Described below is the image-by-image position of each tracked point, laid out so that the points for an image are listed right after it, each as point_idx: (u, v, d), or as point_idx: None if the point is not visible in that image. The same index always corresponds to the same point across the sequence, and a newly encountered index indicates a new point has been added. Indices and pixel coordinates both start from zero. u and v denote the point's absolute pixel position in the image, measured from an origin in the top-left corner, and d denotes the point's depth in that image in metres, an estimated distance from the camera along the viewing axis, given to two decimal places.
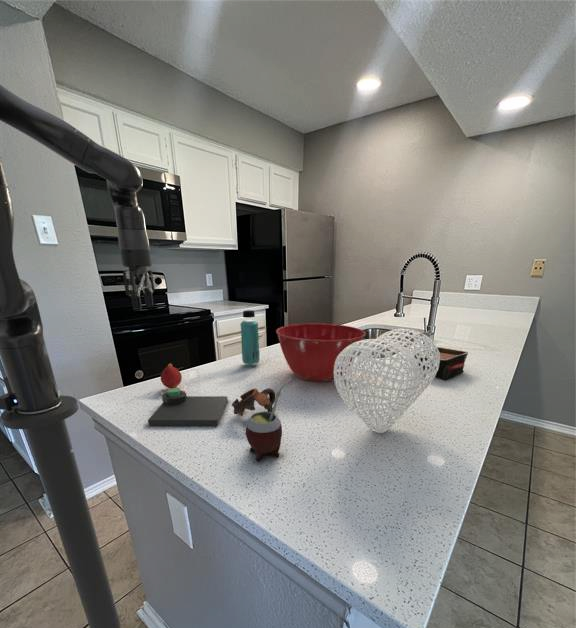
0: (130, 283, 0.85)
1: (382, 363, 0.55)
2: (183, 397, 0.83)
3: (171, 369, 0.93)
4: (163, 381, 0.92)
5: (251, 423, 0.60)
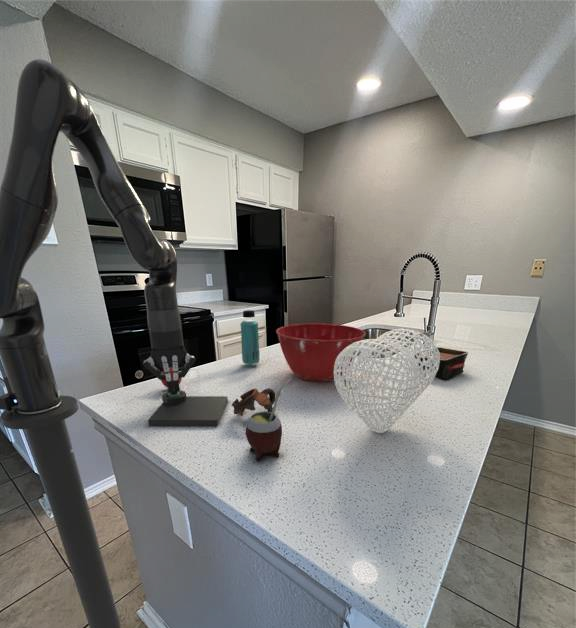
0: None
1: (382, 363, 0.55)
2: (183, 397, 0.83)
3: (171, 369, 0.93)
4: (163, 381, 0.92)
5: (251, 423, 0.60)
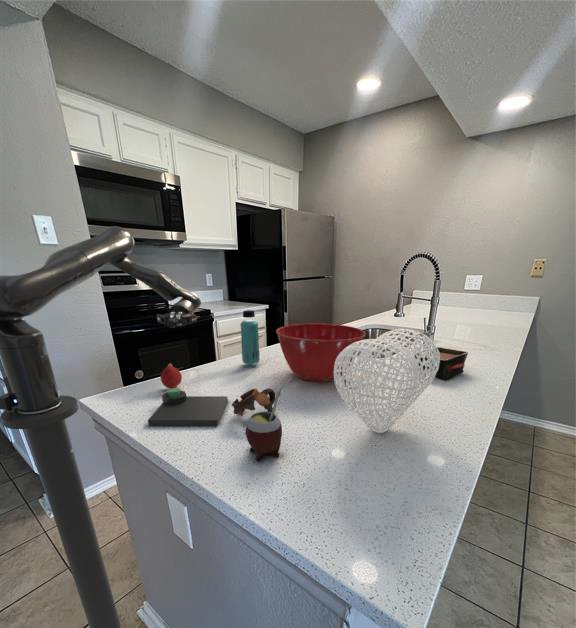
0: (160, 318, 1.03)
1: (382, 363, 0.55)
2: (183, 397, 0.83)
3: (171, 369, 0.93)
4: (163, 381, 0.92)
5: (251, 423, 0.60)
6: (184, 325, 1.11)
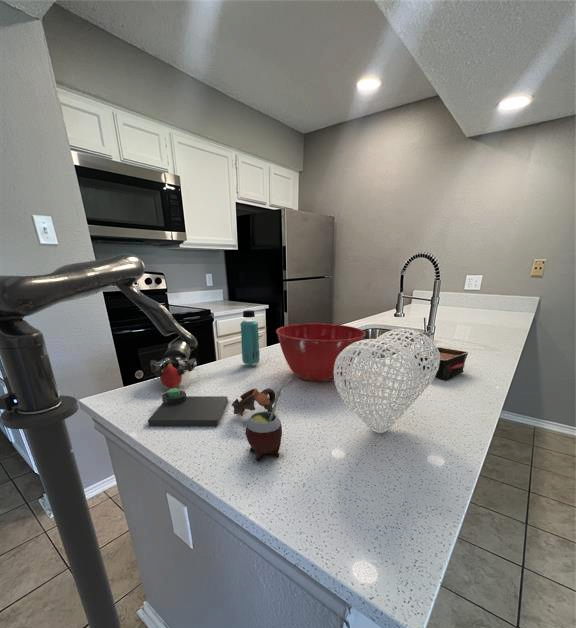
0: None
1: (382, 363, 0.55)
2: (183, 397, 0.83)
3: (171, 369, 0.93)
4: (163, 381, 0.92)
5: (251, 423, 0.60)
6: None
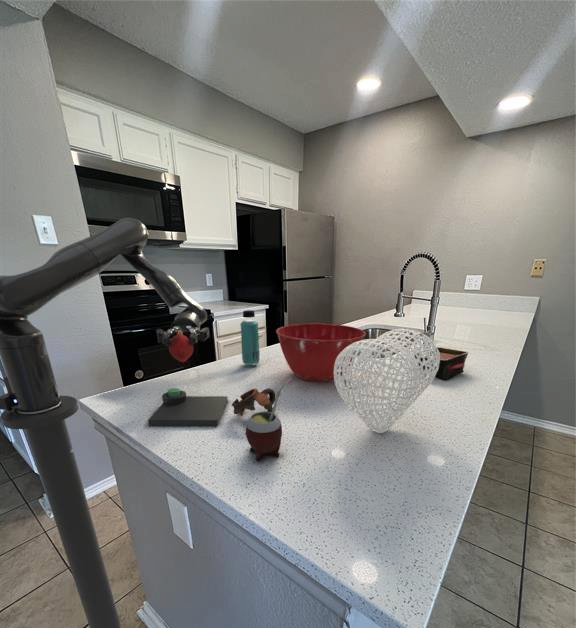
0: None
1: (382, 363, 0.55)
2: (183, 397, 0.83)
3: (182, 337, 0.79)
4: (172, 351, 0.79)
5: (251, 423, 0.60)
6: None
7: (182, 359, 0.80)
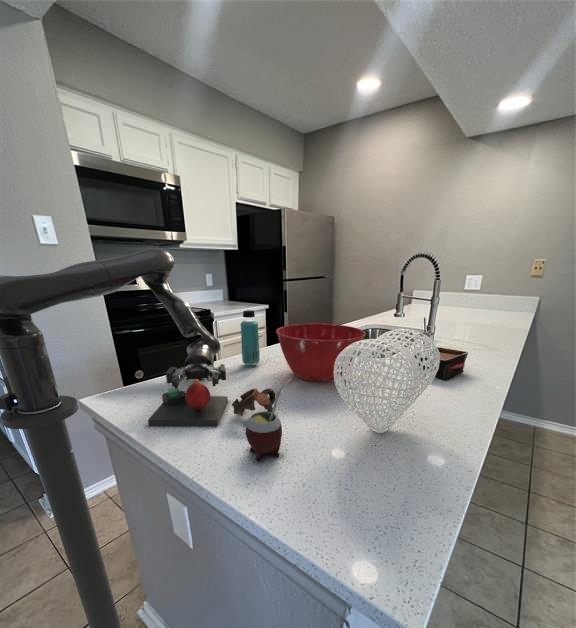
0: None
1: (382, 363, 0.55)
2: (183, 397, 0.83)
3: (199, 386, 0.76)
4: (189, 401, 0.75)
5: (251, 423, 0.60)
6: (205, 379, 0.86)
7: (199, 408, 0.77)
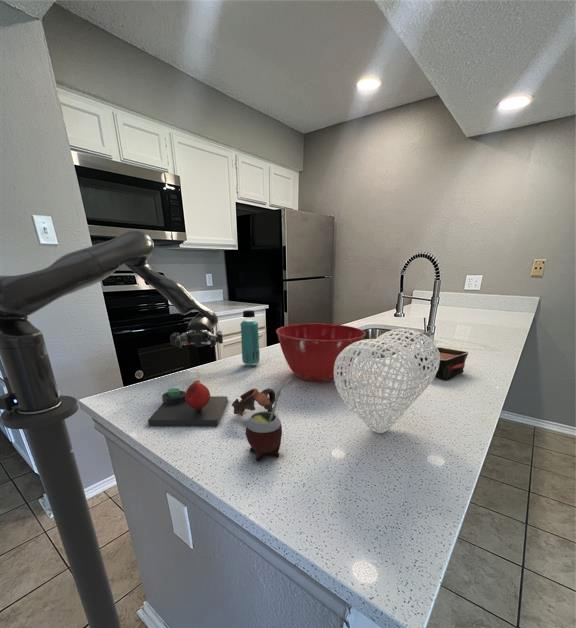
0: None
1: (382, 363, 0.55)
2: (183, 397, 0.83)
3: (199, 386, 0.76)
4: (189, 401, 0.75)
5: (251, 423, 0.60)
6: None
7: (199, 408, 0.77)
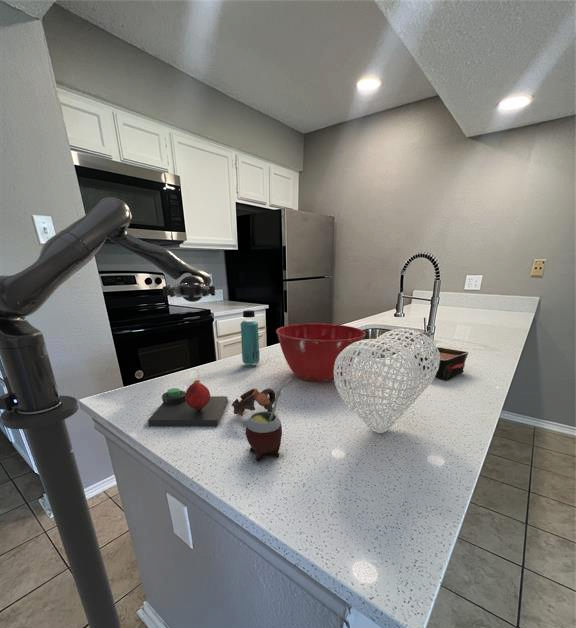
0: None
1: (382, 363, 0.55)
2: (183, 397, 0.83)
3: (199, 386, 0.76)
4: (189, 401, 0.75)
5: (251, 423, 0.60)
6: (197, 300, 0.98)
7: (199, 408, 0.77)
